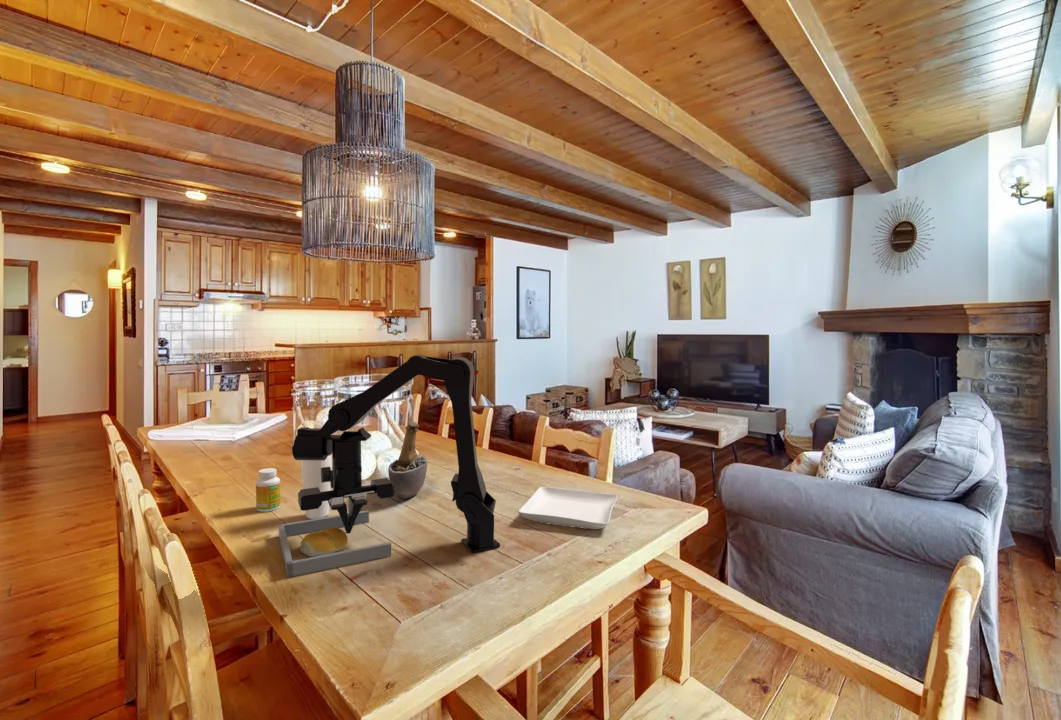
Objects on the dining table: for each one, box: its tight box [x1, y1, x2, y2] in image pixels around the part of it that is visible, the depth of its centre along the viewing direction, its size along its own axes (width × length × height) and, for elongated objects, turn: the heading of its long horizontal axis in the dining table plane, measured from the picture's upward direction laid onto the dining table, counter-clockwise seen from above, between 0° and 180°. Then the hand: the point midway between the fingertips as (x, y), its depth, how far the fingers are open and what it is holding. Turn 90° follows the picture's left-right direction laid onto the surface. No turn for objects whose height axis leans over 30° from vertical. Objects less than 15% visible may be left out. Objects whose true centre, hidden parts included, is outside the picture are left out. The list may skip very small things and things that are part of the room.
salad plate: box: [518, 486, 619, 530], centre depth 129 cm, size 21×21×3 cm
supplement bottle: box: [255, 467, 281, 513], centre depth 129 cm, size 5×5×10 cm
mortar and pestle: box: [387, 421, 428, 500], centre depth 141 cm, size 15×17×20 cm
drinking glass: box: [300, 454, 333, 520], centre depth 125 cm, size 7×7×15 cm
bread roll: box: [299, 527, 349, 558], centre depth 108 cm, size 8×9×4 cm
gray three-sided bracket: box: [278, 509, 392, 578], centre depth 109 cm, size 21×19×2 cm
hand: (348, 532), depth 110 cm, fingers closed
